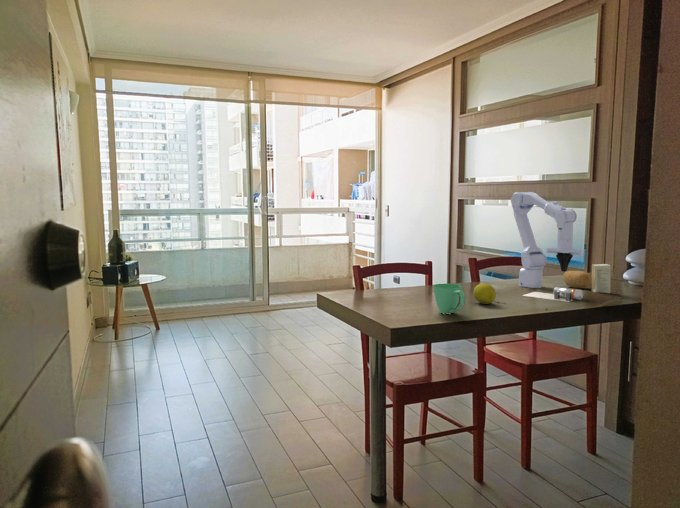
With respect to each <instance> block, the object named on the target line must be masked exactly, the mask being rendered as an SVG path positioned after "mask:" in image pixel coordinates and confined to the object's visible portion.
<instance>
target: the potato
mask: <svg viewBox="0 0 680 508" xmlns="http://www.w3.org/2000/svg"><path fill="white" fill-rule="evenodd" d="M562 280H563V282H564V283H565V285H566V286H568V287H571V289H585V288H587V287H588V286H590V284H591V283H592V274H590V273H588V272H586V271H583V270H567V271H565V272H564V273H563V276H562Z"/></svg>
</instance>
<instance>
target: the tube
mask: <svg viewBox="0 0 680 508" xmlns="http://www.w3.org/2000/svg"><path fill="white" fill-rule="evenodd" d="M555 291H560V298H566V293H567V292H569V293H571V299H575V301H576V300H578V301H581V300H582V299H583V297H584V291H583V290H582V289H579V288H577V289H575V288H567V287H560V286H559V287H558V286H555V287H554V288H553V292H552V294H553V295H554V292H555Z"/></svg>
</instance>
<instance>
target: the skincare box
mask: <svg viewBox="0 0 680 508" xmlns="http://www.w3.org/2000/svg"><path fill="white" fill-rule="evenodd" d="M611 266H612V265H611V264H608V263H600V264H594V263H593V264H591V278H592V279H591V292H593V293H605V294H611V281H612V280H611V274H612V273H611V272H612V270H611V268H612V267H611Z"/></svg>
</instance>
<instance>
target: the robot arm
mask: <svg viewBox="0 0 680 508" xmlns="http://www.w3.org/2000/svg"><path fill="white" fill-rule="evenodd" d="M510 203H511V207H512V210H513V216H514V219H515V223H516V226H517V230H518V233H519V237H520V239H521V243H522V246H523V250H522V252H521V253H520V256H521V265H522V267H521V268H520V270H519V273H518V287H523V288H531V289H541V288H543V270H544V269H545V266H546V265H547V263H548V262H547V261H548V259H547V258H548V257H547V256H546V254H555V257H556V259H557V261H558V263H559V265H560V270H561V271H560V272H564V273H565V272H566V271H568V268H569V264H570V262H571V260H572V258H573V257H574V256H584V254H585V251H584V249H575V248H574V249H573V239H574V238H573V237H574V235H573V234H574V223H575V222H576V220H577V213H576V211H575V210H574V209H573V208H571V209H567V208H566V207H565V206H562V205H560V204H558V202H557V201H550V202H548V201H547V200H545V198H543V197H541V196H540V195H538V193H535V192H533V191H528V192H527V191H524V192H523V191H522V192H520V191H515V192H514V193H513V194H512V196H511V198H510ZM534 206H536V207H538V208H539V209H542V210H543V211H544V213H545V214H546V215H547V216H549V217H551V218H552V219H554V220H555V221H554V222H556V227H557V243H556V244H557V247H556V248H553V247H552V248H550V247H547V248H546V251H545V252H546V254H545V253H544V251H543V249H541V248H540V247H539V246H538V245H537V242H536V240H535V236H534V233H533V230H532V227H531V224H530V223H531V222H530V219H529V216H528V214H529V212H530V211H531V210H532V209H533V207H534Z"/></svg>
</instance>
